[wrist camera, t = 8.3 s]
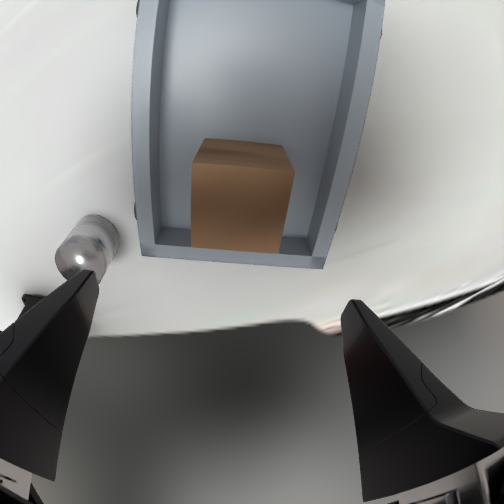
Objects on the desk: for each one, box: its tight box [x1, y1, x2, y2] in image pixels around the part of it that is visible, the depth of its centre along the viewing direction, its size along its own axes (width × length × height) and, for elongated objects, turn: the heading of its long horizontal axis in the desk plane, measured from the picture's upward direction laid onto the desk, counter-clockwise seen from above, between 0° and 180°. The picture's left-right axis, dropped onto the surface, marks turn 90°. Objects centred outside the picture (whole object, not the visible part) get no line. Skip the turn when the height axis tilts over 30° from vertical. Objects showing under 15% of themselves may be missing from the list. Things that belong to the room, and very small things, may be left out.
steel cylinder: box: [55, 215, 120, 285], centre depth 19 cm, size 4×4×4 cm
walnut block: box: [191, 138, 295, 254], centre depth 15 cm, size 4×4×4 cm
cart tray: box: [131, 0, 385, 269], centre depth 14 cm, size 18×13×3 cm
